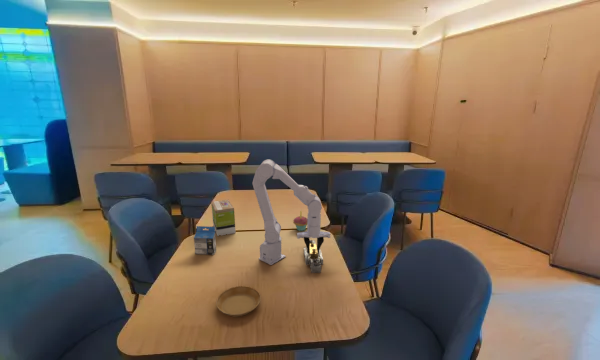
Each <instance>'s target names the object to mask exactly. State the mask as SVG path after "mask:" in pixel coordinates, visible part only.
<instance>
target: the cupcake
mask: <svg viewBox="0 0 600 360" xmlns="http://www.w3.org/2000/svg"><path fill="white" fill-rule="evenodd" d="M302 212H303V211H302V210H300V212H299V213H300V214H299V215H300V216H297V217H294V218H293V220H292V222H293V224H294V225H295V228H296V230H297V231H300V232H304V231H306V229H307V218H308V217H305V216H302Z"/></svg>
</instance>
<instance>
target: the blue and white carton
mask: <svg viewBox="0 0 600 360" xmlns="http://www.w3.org/2000/svg"><path fill="white" fill-rule="evenodd" d="M193 242H194V243H193V246H194V254H195V255H211V256H213V255H215V254H216V253H217V240H216V231H215V227H214V226H202V225H201V226H199V225H196V232H195V234H194V236H193Z"/></svg>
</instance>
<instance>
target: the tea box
mask: <svg viewBox="0 0 600 360" xmlns="http://www.w3.org/2000/svg"><path fill="white" fill-rule="evenodd" d="M210 204H211V213H212V224H213V226H212V227H215V235H216V236H217V237H219V235H221V236H224V235H225V236H226V234H227V235H232V234H235V233H236V218H235V217H236V216H235V207H234V206H233V204H232V203H231V201H230V200H229V199H224V200H217V201H211V203H210Z"/></svg>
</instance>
